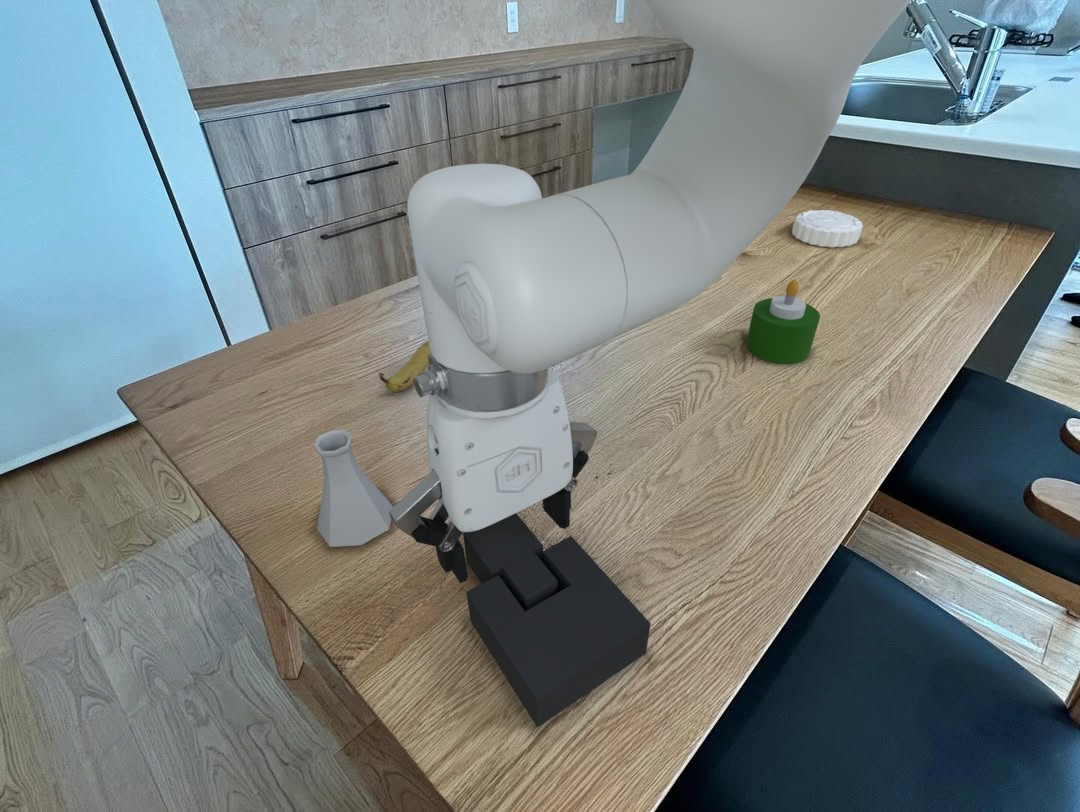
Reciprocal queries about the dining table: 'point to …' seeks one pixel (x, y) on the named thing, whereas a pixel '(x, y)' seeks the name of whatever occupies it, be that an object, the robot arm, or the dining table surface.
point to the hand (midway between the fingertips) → (508, 542)
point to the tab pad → (511, 560)
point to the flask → (348, 495)
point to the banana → (409, 370)
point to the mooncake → (827, 228)
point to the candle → (782, 328)
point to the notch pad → (560, 632)
